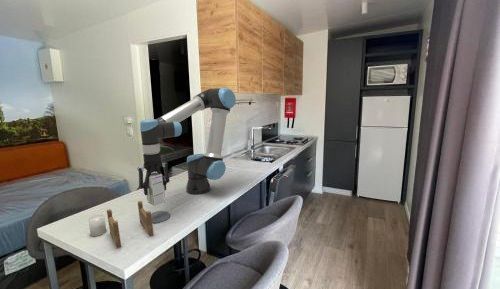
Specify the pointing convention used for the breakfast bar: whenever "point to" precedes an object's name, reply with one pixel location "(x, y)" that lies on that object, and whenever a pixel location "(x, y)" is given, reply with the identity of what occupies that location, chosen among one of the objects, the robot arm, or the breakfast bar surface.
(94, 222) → the off-white capsule
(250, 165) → the breakfast bar surface
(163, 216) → the slate coaster
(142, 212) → the oak stand
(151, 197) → the syrup box
